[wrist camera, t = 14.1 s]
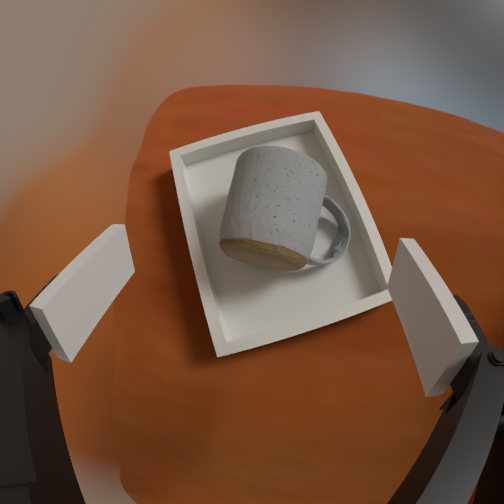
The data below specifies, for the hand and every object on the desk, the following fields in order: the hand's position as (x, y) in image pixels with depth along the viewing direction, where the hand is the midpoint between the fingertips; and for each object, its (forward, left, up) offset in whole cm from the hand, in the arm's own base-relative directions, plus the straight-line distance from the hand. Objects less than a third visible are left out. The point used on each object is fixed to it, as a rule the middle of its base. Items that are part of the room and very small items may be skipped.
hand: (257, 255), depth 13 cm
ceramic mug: (-4, -5, -13) cm, 14 cm away
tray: (-3, -6, -13) cm, 15 cm away
